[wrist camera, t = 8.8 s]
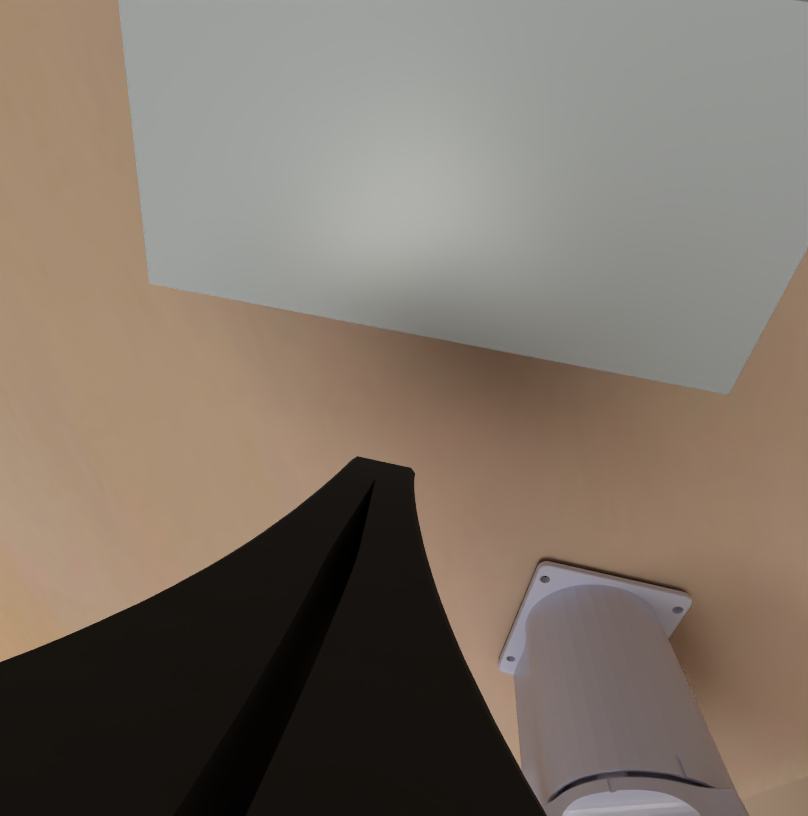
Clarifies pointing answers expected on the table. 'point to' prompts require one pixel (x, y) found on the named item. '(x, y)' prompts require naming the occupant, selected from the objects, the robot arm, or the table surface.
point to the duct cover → (483, 168)
